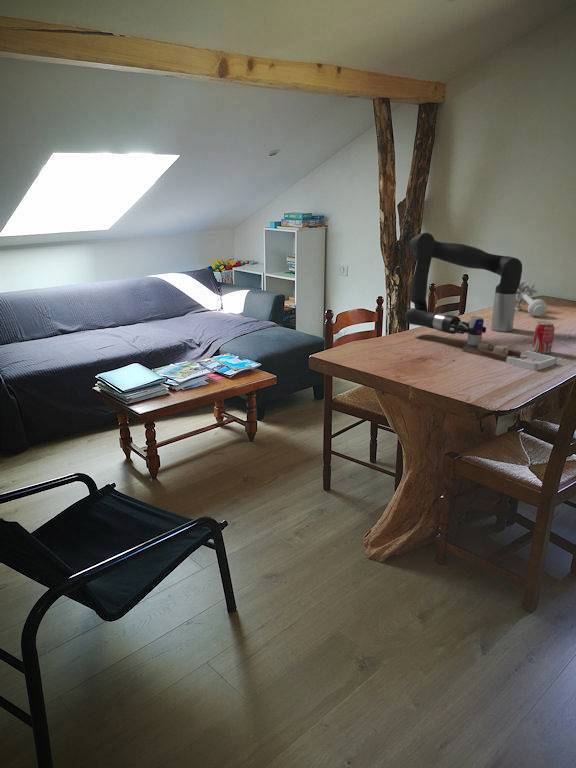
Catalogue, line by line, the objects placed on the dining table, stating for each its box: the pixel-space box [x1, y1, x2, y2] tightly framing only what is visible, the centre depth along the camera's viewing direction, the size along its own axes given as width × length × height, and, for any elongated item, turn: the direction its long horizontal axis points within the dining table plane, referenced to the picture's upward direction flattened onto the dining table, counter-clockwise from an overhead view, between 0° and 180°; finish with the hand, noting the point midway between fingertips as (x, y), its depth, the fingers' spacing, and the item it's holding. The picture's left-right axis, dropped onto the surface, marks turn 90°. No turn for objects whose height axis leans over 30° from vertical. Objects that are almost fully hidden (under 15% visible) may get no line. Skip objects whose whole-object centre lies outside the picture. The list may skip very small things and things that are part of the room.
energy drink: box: [466, 316, 484, 348], centre depth 227 cm, size 5×5×12 cm
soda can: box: [532, 320, 555, 355], centre depth 224 cm, size 7×7×12 cm
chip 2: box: [492, 344, 510, 356], centre depth 220 cm, size 4×4×4 cm
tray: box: [505, 350, 558, 372], centre depth 210 cm, size 14×12×2 cm
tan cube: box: [478, 340, 494, 352], centre depth 225 cm, size 4×4×4 cm
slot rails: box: [461, 344, 522, 362], centre depth 223 cm, size 11×19×2 cm, turn 38°
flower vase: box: [515, 278, 547, 317], centre depth 295 cm, size 13×18×25 cm
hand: (480, 331), depth 225 cm, fingers closed on energy drink, 5 cm apart
